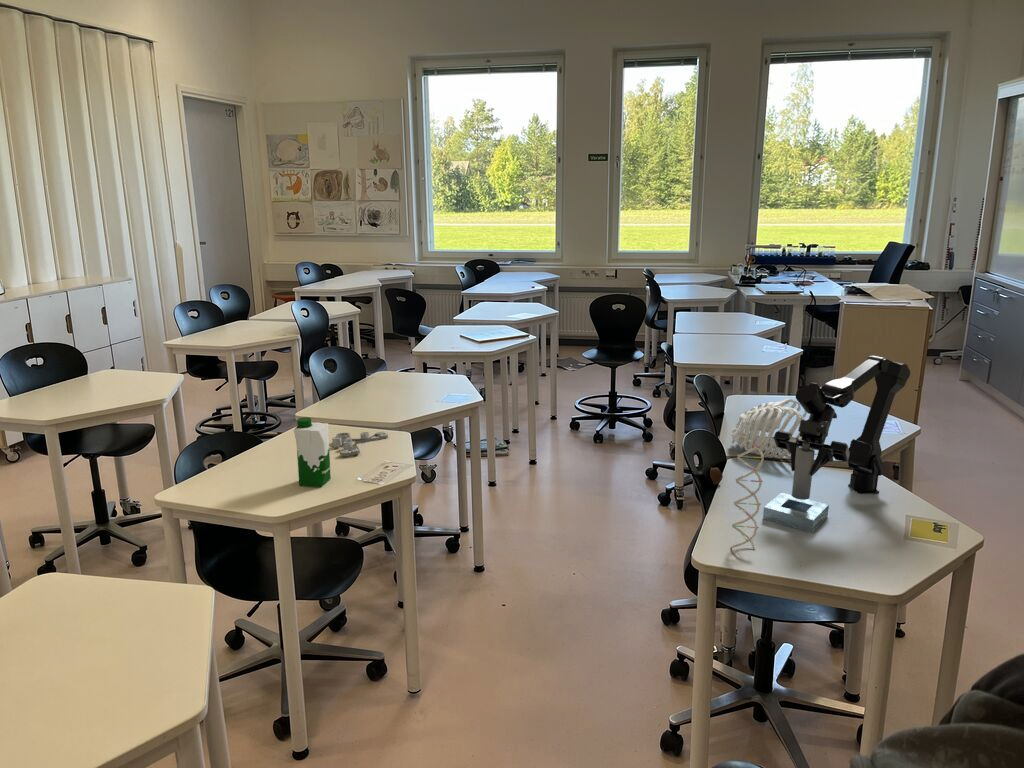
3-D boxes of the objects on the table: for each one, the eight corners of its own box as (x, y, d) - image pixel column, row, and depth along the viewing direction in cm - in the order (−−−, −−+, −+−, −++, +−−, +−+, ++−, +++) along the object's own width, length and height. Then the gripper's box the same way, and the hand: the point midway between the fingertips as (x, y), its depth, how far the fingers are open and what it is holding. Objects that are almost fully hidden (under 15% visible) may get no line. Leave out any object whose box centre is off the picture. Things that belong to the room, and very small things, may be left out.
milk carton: (307, 476, 226) (303, 414, 221) (335, 478, 225) (331, 416, 220) (294, 487, 218) (290, 423, 213) (323, 489, 216) (319, 424, 212)
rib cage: (813, 444, 258) (731, 434, 266) (820, 396, 253) (737, 386, 261) (818, 471, 234) (728, 459, 243) (827, 418, 229) (734, 407, 237)
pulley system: (314, 457, 246) (353, 459, 241) (313, 443, 245) (352, 446, 240) (356, 436, 271) (392, 437, 267) (355, 423, 271) (392, 425, 266)
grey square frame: (779, 504, 207) (781, 492, 206) (827, 516, 199) (828, 504, 198) (762, 519, 197) (763, 507, 196) (812, 532, 189) (813, 520, 188)
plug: (804, 492, 198) (810, 440, 194) (812, 499, 194) (818, 445, 190) (788, 493, 198) (794, 440, 194) (796, 499, 193) (802, 446, 190)
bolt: (696, 472, 236) (716, 488, 221) (683, 466, 234) (702, 481, 220) (705, 457, 235) (726, 472, 220) (693, 450, 234) (712, 465, 219)
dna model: (730, 553, 178) (740, 436, 170) (727, 541, 184) (737, 428, 176) (758, 556, 176) (769, 438, 169) (755, 544, 183) (765, 430, 175)
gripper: (779, 401, 198) (760, 450, 193) (852, 414, 187) (834, 466, 182) (786, 422, 206) (768, 470, 201) (856, 436, 195) (840, 486, 189)
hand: (801, 472), depth 193 cm, fingers closed on plug, 4 cm apart
